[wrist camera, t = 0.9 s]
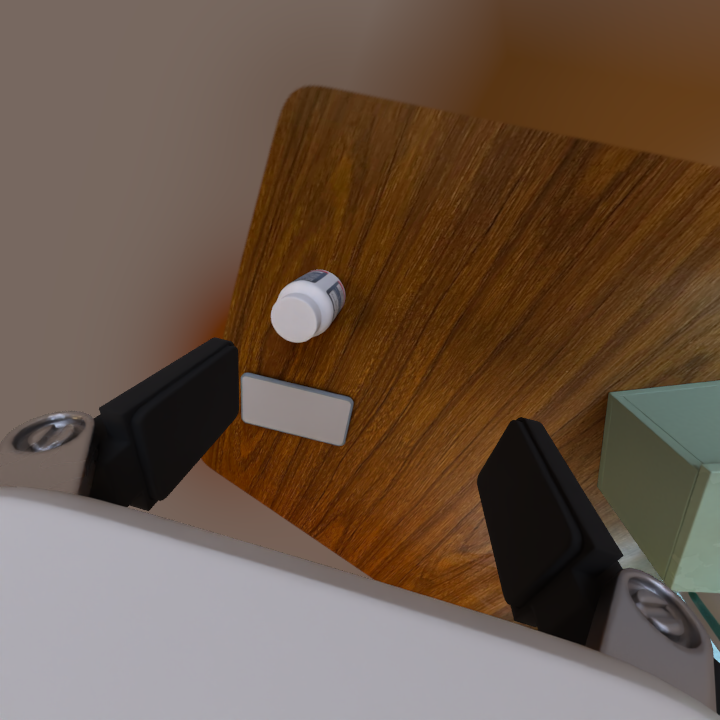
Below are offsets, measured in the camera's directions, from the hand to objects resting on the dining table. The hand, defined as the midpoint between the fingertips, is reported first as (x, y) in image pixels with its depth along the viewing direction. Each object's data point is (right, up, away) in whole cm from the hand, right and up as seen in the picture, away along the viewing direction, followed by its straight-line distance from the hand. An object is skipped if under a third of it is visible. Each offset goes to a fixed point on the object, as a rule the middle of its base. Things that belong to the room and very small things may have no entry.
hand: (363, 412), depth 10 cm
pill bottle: (-4, +9, +21) cm, 24 cm away
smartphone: (-9, -5, +29) cm, 31 cm away
